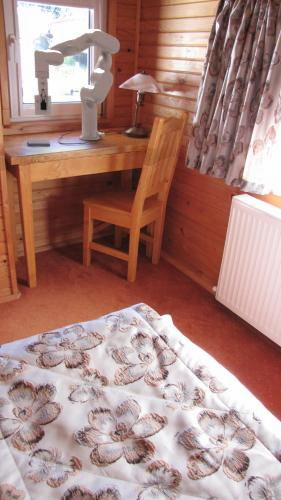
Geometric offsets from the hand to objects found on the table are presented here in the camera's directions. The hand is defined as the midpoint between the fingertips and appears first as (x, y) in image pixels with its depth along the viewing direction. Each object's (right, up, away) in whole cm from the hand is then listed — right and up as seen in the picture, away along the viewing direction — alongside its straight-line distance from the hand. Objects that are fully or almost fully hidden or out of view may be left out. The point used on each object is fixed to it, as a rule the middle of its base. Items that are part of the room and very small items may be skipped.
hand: (43, 108), depth 226 cm
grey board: (-4, -18, +6) cm, 20 cm away
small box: (0, -3, +2) cm, 3 cm away
